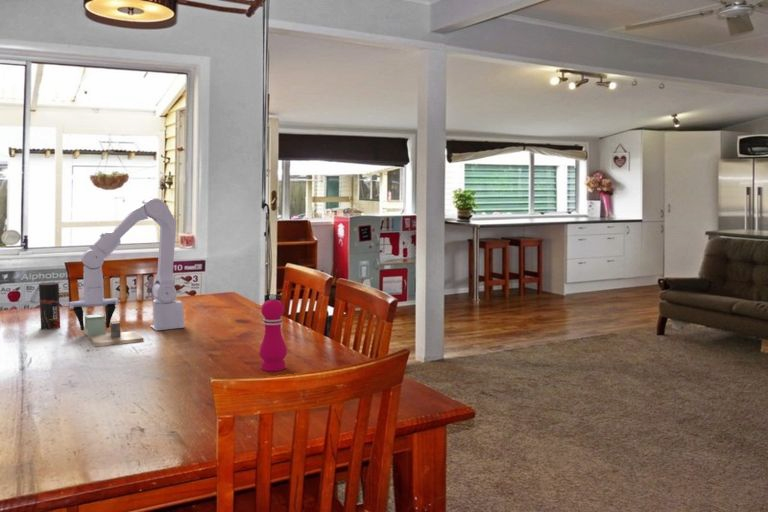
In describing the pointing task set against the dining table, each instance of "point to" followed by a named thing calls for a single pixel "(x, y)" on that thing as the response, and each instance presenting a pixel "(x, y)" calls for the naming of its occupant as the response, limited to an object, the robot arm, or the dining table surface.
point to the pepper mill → (272, 336)
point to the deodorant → (49, 305)
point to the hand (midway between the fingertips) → (95, 328)
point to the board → (114, 340)
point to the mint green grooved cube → (94, 324)
